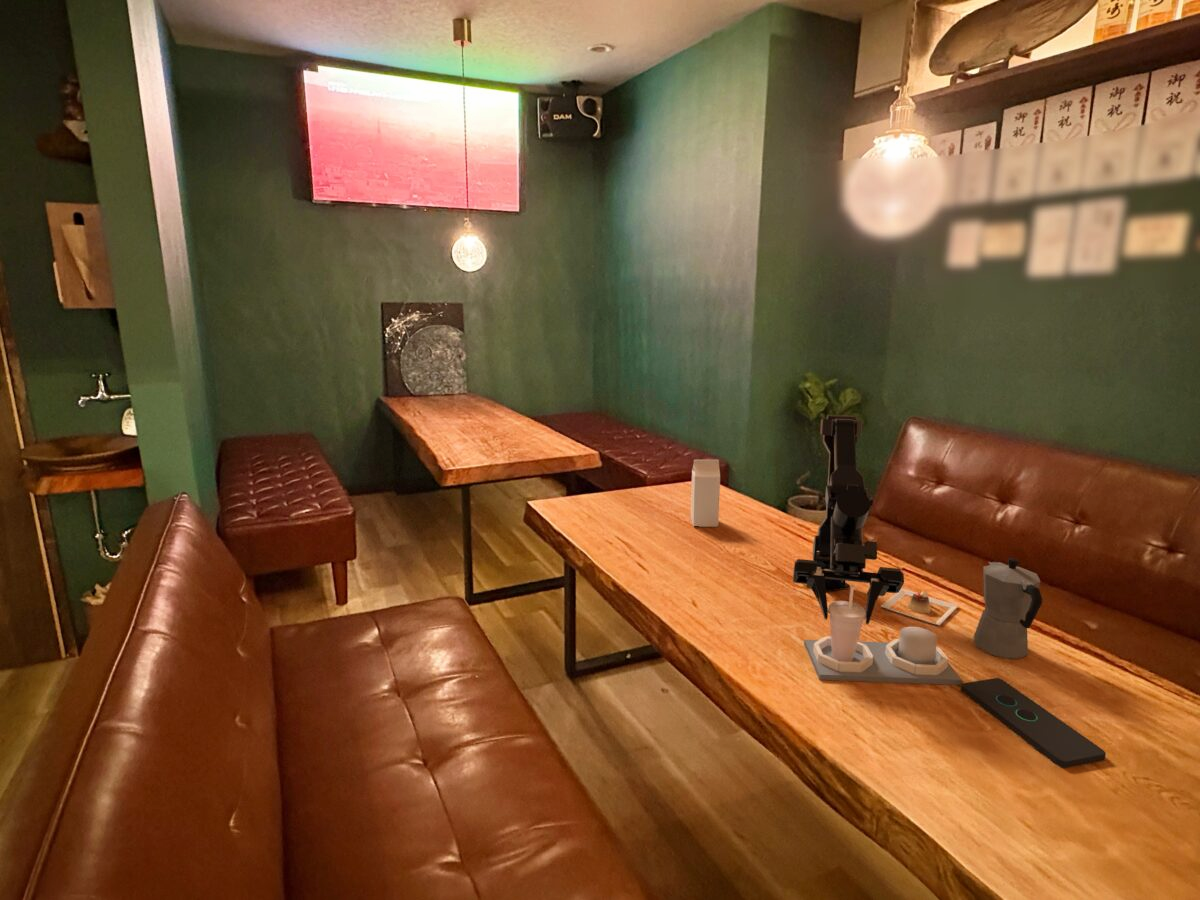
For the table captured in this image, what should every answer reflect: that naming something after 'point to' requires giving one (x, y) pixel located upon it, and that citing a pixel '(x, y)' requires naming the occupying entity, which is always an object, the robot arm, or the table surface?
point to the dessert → (919, 604)
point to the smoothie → (845, 627)
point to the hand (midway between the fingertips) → (846, 621)
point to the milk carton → (705, 493)
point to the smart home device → (1033, 723)
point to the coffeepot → (1007, 609)
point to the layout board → (887, 660)
